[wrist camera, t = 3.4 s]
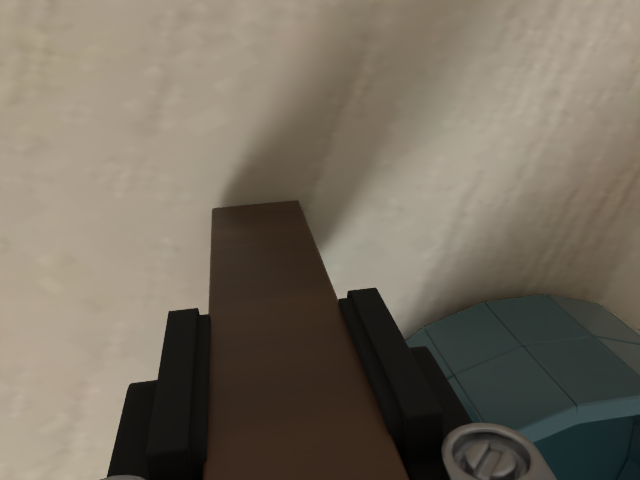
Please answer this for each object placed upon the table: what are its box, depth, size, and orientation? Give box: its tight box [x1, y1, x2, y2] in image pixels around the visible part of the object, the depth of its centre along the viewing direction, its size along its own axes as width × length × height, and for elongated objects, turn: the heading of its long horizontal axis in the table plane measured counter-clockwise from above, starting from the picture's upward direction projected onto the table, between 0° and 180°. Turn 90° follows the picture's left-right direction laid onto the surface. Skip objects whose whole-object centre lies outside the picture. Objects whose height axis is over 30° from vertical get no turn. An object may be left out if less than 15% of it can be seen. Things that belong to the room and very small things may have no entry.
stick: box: [203, 201, 410, 480], centre depth 12 cm, size 2×2×12 cm
